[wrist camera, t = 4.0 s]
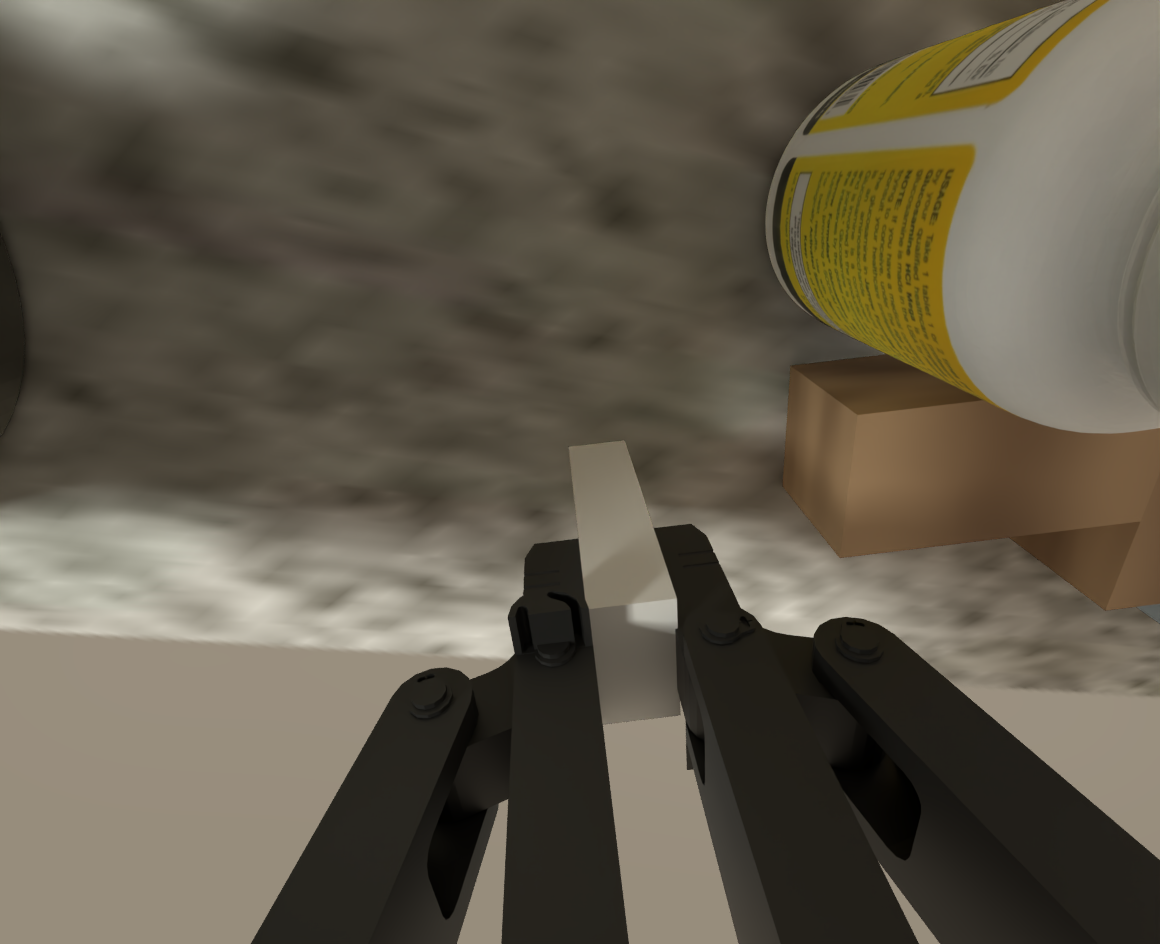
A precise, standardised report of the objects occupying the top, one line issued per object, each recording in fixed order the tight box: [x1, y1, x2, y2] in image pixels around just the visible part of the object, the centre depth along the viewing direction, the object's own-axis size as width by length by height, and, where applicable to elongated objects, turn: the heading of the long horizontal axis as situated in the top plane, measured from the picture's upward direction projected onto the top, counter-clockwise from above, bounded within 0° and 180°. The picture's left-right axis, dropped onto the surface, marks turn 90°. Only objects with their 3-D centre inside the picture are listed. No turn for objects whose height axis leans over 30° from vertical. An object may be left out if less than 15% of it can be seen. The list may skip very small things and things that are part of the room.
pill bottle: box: [765, 0, 1160, 434], centre depth 10 cm, size 6×6×11 cm
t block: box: [783, 354, 1160, 611], centre depth 16 cm, size 12×10×4 cm
